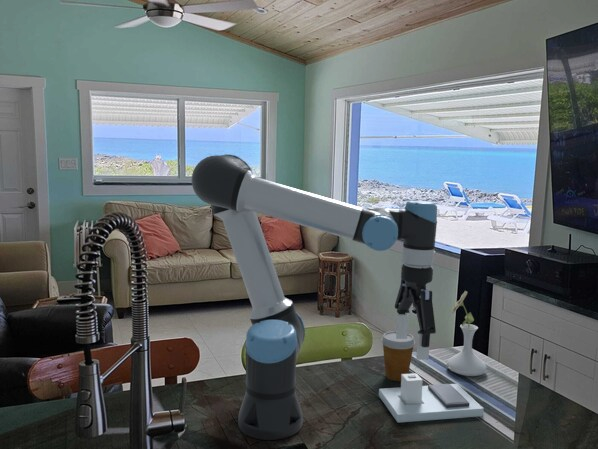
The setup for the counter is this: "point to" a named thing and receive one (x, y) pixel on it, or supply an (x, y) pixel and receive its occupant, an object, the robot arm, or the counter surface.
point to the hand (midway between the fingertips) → (411, 348)
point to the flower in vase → (466, 348)
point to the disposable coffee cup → (397, 354)
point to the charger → (411, 389)
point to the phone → (448, 395)
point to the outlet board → (427, 406)
